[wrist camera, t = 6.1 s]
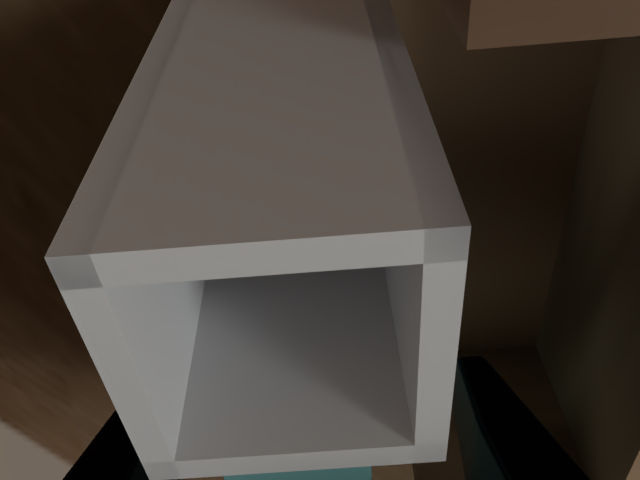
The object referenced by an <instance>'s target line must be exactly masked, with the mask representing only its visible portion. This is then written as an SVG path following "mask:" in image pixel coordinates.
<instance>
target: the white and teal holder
mask: <svg viewBox="0 0 640 480" xmlns="http://www.w3.org/2000/svg"><path fill="white" fill-rule="evenodd" d="M470 234H471V223H470V220H469V218H468V215H467V212H466V210H465V207H464V204H463V201H462V199H461V196H460V193H459V190H458V188H457V185H456V182H455V179H454V177H453V174H452V171H451V169H450V166H449V163H448V160H447V158H446V155H445V152H444V149H443V147H442V144H441V141H440V138H439V136H438V133H437V130H436V127H435V125H434V122H433V119H432V117H431V114H430V111H429V108H428V106H427V103H426V100H425V97H424V95H423V92H422V89H421V86H420V84H419V81H418V78H417V75H416V73H415V70H414V67H413V65H412V62H411V59H410V56H409V54H408V51H407V48H406V45H405V43H404V40H403V37H402V34H401V32H400V29H399V26H398V23H397V21H396V18H395V15H394V13H393V10H392V7H391V4H390V2H389V0H171V2H170V4H169V6H168V8H167V10H166V12H165V14H164V16H163V18H162V20H161V22H160V24H159V26H158V28H157V30H156V32H155V34H154V36H153V38H152V40H151V42H150V44H149V46H148V48H147V51H146V53H145V55H144V57H143V59H142V61H141V63H140V65H139V67H138V69H137V71H136V73H135V75H134V77H133V79H132V81H131V83H130V85H129V87H128V89H127V91H126V93H125V95H124V97H123V99H122V101H121V103H120V105H119V107H118V109H117V111H116V113H115V115H114V117H113V119H112V121H111V123H110V125H109V127H108V129H107V131H106V133H105V135H104V137H103V140H102V142H101V144H100V146H99V148H98V150H97V152H96V154H95V156H94V158H93V160H92V162H91V164H90V166H89V168H88V170H87V172H86V174H85V176H84V178H83V180H82V182H81V184H80V186H79V188H78V190H77V192H76V194H75V196H74V198H73V200H72V202H71V204H70V206H69V208H68V210H67V212H66V214H65V216H64V218H63V220H62V222H61V224H60V226H59V229H58V231H57V233H56V235H55V237H54V239H53V241H52V243H51V245H50V247H49V249H48V251H47V253H46V255H45V257H44V259H45V261H46V263H47V265H48V267H49V269H50V271H51V273H52V275H53V278H54V280H55V282H56V284H57V286H58V288H59V290H60V292H61V294H62V297H63V299H64V301H65V303H66V305H67V307H68V309H69V311H70V313H71V316H72V318H73V320H74V322H75V324H76V326H77V328H78V330H79V332H80V335H81V337H82V339H83V341H84V343H85V345H86V347H87V349H88V351H89V354H90V356H91V358H92V360H93V362H94V364H95V366H96V368H97V370H98V373H99V375H100V377H101V379H102V381H103V383H104V385H105V387H106V389H107V392H108V394H109V396H110V398H111V400H112V402H113V404H114V406H115V408H116V411H117V413H118V415H119V417H120V419H121V421H122V423H123V425H124V427H125V430H126V432H127V434H128V436H129V438H130V440H131V442H132V444H133V446H134V449H135V451H136V453H137V455H138V457H139V459H140V461H141V463H142V465H143V468H144V470H145V472H146V474H147V476H148V478H149V480H170V479H185V478H200V477H215V476H223V477H224V480H372V473H371V466H381V465H396V464H411V463H426V462H441V461H446V455H447V446H448V437H449V428H450V419H451V409H452V400H453V391H454V382H455V372H456V363H457V354H458V345H459V336H460V326H461V317H462V308H463V299H464V289H465V280H466V271H467V262H468V253H469V243H470Z"/></svg>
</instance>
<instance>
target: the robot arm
mask: <svg viewBox="0 0 640 480" xmlns="http://www.w3.org/2000/svg"><path fill="white" fill-rule="evenodd" d="M452 403H453V409H454V415H455V421H456V427H457V433H458V439H459V445H460V451H461V457H462V463H463V469H464V476H465V480H591V479H590V478H589V477H588V476H587V475H586V473H585V472H584V471H583V470H582V469H581V468H580V466H579V465H578V464H577V463H576V462H575V461H574V460H573V458H572V457H571V456H570V455H569V454H568V453H567V452H566V450H565V449H564V448H563V447H562V446H561V445H560V444H559V442H558V441H557V440H556V439H555V438H554V437H553V436H552V434H551V433H550V432H549V431H548V430H547V429H546V428H545V426H544V425H543V424H542V423H541V422H540V421H539V420H538V418H537V417H536V416H535V415H534V414H533V413H532V412H531V410H530V409H529V408H528V407H527V406H526V405H525V403H524V402H523V401H522V400H521V399H520V398H519V397H518V395H517V394H516V393H515V392H514V391H513V390H512V389H511V387H510V386H509V385H508V384H507V383H506V382H505V381H504V379H503V378H502V377H501V376H500V375H499V374H498V373H497V371H496V370H495V369H494V368H493V367H492V366H491V365H490V363H489V362H488V361H487V360H486V359H485V358H484V357H483V356H481V355H464V356H458V357H457V363H456V372H455V382H454V391H453V400H452ZM63 480H149V478H148V476H147V474H146V472H145V470H144V468H143V465H142V463H141V461H140V459H139V457H138V455H137V453H136V451H135V449H134V446H133V444H132V442H131V440H130V438H129V436H128V434H127V432H126V430H125V427H124V425H123V423H122V421H121V419H120V417H119V415H118V413H117V411H116V410H115V412H114V413H113V414H112V416H111V417H110V418H109V419H108V421H107V422H106V423H105V425H104V426H103V427H102V429H101V430H100V431H99V433H98V434H97V435H96V436H95V438H94V439H93V440H92V442H91V443H90V444H89V446H88V447H87V448H86V450H85V451H84V452H83V454H82V455H81V456H80V457H79V459H78V460H77V461H76V463H75V464H74V465H73V467H72V468H71V469H70V471H69V472H68V473H67V474H66V476H65V477H64V478H63ZM170 480H175V479H170Z"/></svg>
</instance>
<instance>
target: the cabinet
mask: <svg viewBox="0 0 640 480" xmlns="http://www.w3.org/2000/svg"><path fill="white" fill-rule="evenodd" d="M389 2H390V4H391V7H392V10H393V13H394V15H395V18H396V21H397V23H398V26H399V29H400V32H401V34H402V37H403V40H404V43H405V45H406V48H407V51H408V54H409V56H410V59H411V62H412V65H413V67H414V70H415V73H416V75H417V78H418V81H419V84H420V86H421V89H422V92H423V95H424V97H425V100H426V103H427V106H428V108H429V111H430V114H431V117H432V119H433V122H434V125H435V127H436V130H437V133H438V136H439V138H440V141H441V144H442V147H443V149H444V152H445V155H446V158H447V160H448V163H449V166H450V169H451V171H452V174H453V177H454V179H455V182H456V185H457V188H458V190H459V193H460V196H461V199H462V201H463V204H464V207H465V210H466V212H467V215H468V218H469V220H470V223H471V234H470V243H469V253H468V262H467V271H466V280H465V289H464V299H463V308H462V317H461V326H460V336H459V345H458V354H457V357H458V356H464V355H481V356H483V357H484V358H485V359H486V360H487V361H488V362H489V363H490V365H491V366H492V367H493V368H494V369H495V370H496V371H497V373H498V374H499V375H500V376H501V377H502V378H503V379H504V381H505V382H506V383H507V384H508V385H509V386H510V387H511V389H512V390H513V391H514V392H515V393H516V394H517V395H518V397H519V398H520V399H521V400H522V401H523V402H524V403H525V405H526V406H527V407H528V408H529V409H530V410H531V412H532V413H533V414H534V415H535V416H536V417H537V418H538V420H539V421H540V422H541V423H542V424H543V425H544V426H545V428H546V429H547V430H548V431H549V432H550V433H551V434H552V436H553V437H554V438H555V439H556V440H557V441H558V442H559V444H560V445H561V446H562V447H563V448H564V449H565V450H566V452H567V453H568V454H569V455H570V456H571V457H572V458H573V460H574V461H575V462H576V463H577V464H578V465H579V466H580V468H581V469H582V470H583V471H584V472H585V473H586V475H587V476H588V477H589V478H590V479H591V480H640V0H389ZM412 465H413V471H414V478H415V480H465V476H464V469H463V463H462V457H461V451H460V445H459V439H458V433H457V427H456V421H455V415H454V409H453V403H452V409H451V419H450V428H449V437H448V446H447V455H446V461H441V462H426V463H412Z"/></svg>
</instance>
